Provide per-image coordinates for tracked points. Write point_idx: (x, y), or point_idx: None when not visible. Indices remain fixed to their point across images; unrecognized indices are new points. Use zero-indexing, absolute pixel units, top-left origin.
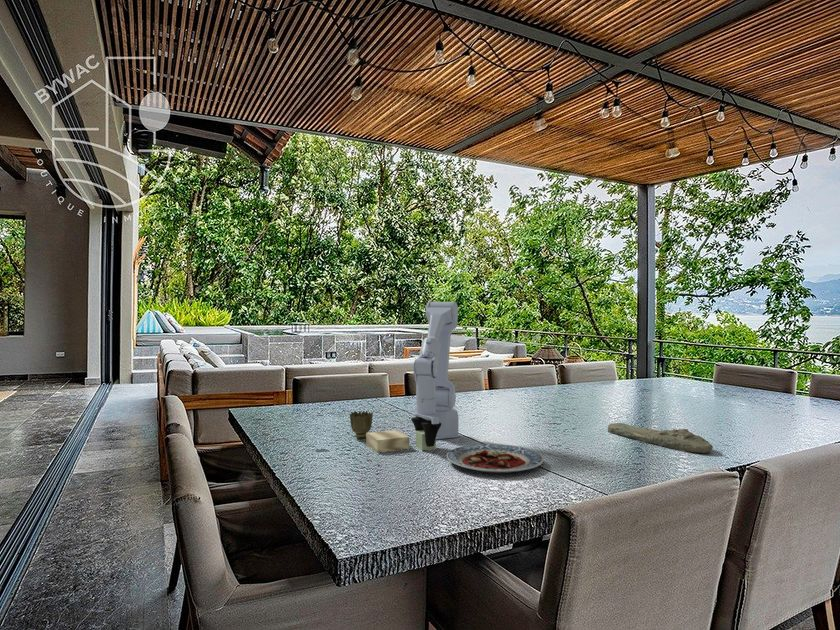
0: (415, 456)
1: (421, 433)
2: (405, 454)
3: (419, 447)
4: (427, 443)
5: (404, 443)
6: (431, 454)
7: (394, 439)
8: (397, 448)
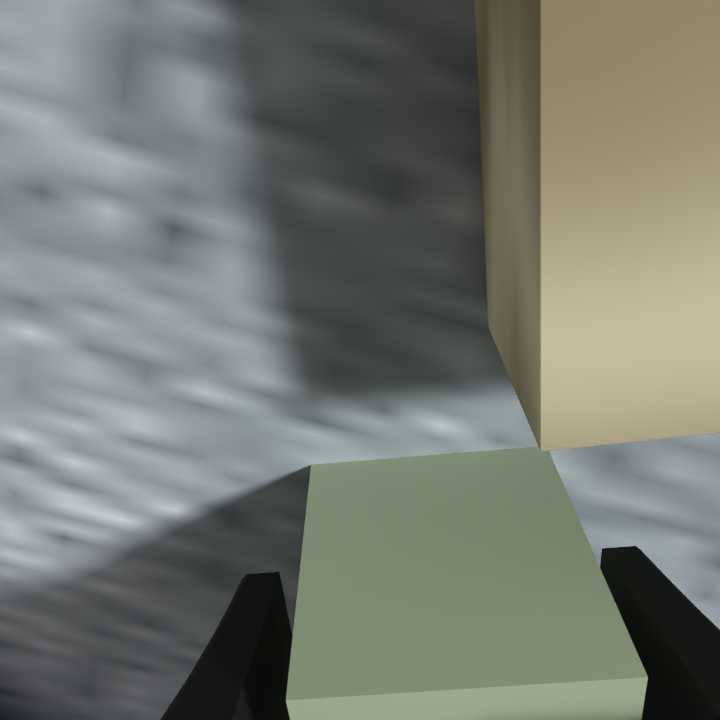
0: (18, 300)
1: (363, 710)
2: (168, 171)
3: (405, 478)
4: (227, 615)
5: (505, 281)
6: (106, 527)
7: (531, 23)
8: (484, 98)
